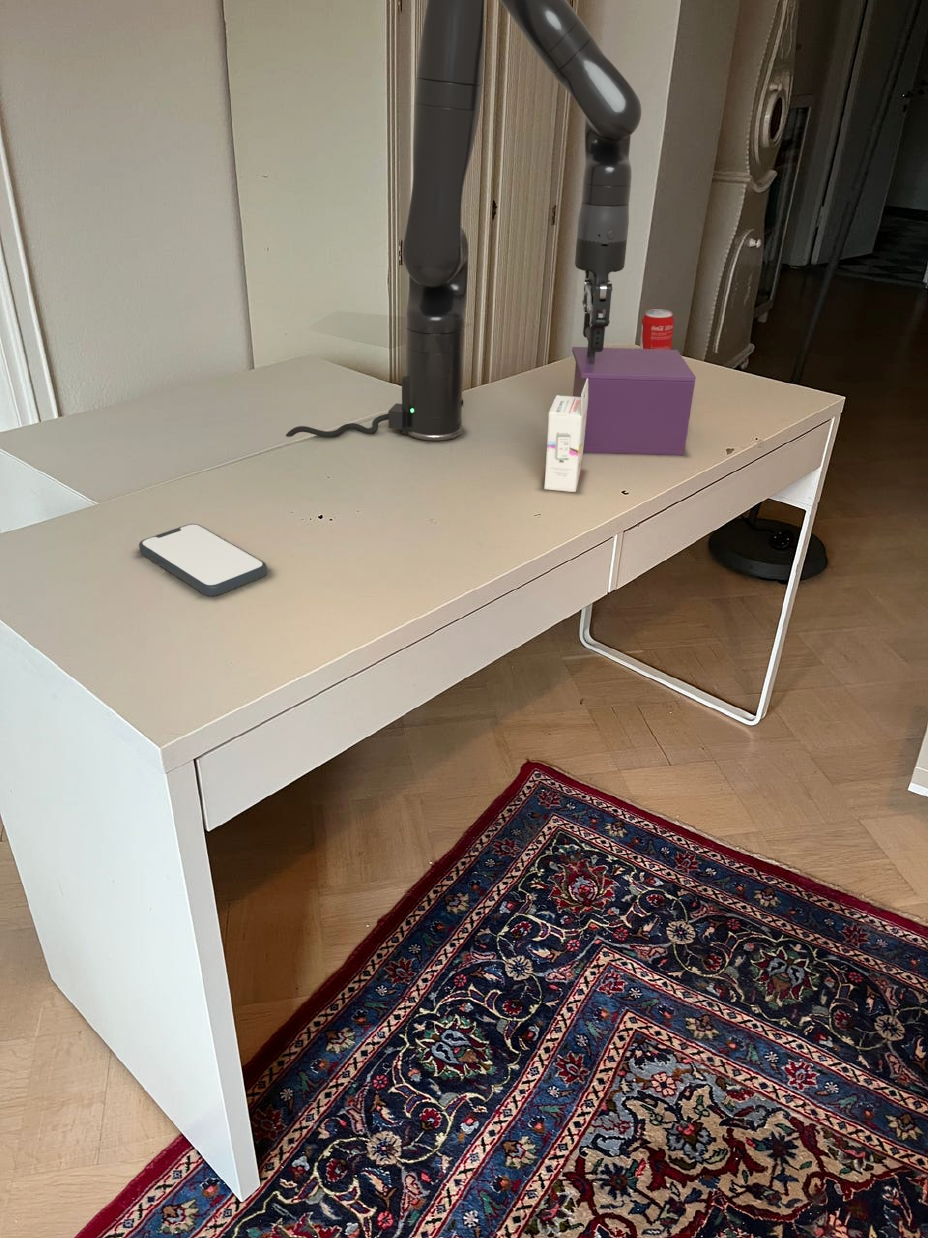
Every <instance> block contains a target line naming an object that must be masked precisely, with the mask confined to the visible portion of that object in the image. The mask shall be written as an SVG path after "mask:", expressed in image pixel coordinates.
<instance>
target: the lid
mask: <svg viewBox="0 0 928 1238" xmlns="http://www.w3.org/2000/svg"><path fill="white" fill-rule="evenodd" d="M585 335H586V337H585V338H586V340H587V346H572V348H571V352H572V356H573V358H574V360H575V365H576V364H577V367H578V370H579V373H580V376H581V378H585V379H587V378H588V379H620V380H654V381H688V382H695V383H696V379H697V377H696V375H695V374H694V373H693V371H692V368H690V366H689V365H688V363H687V362H686V361H685V358H683V356H682V355H681V353H680V352H679V350H678V349H671V350H664V349H640V348H629V347H626V348H625V347H603V351H602V352H590V351H589V348H588V347H589V336H590V326H588V327H587V328H586V330H585Z"/></svg>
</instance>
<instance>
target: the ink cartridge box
mask: <svg viewBox="0 0 928 1238" xmlns="http://www.w3.org/2000/svg"><path fill="white" fill-rule="evenodd" d="M584 396H585V398H584ZM587 406H588V378H587V379H586V382H585V385H584V388H583V390H582V393H581V397H573V395H571V396H570V395H562V394H561V395H559V394H556V395H555V397H554V399H553V401H552V404H551V406H550V409H549V411H548V424H547V425H548V426H547V440H546V456H545V459H546V461H545V472H544V473H545V475H544V486H543V489H544V490H549V491H559V492H568V493H569V492H570V493H576V492H577V489H578V485H579V481H580V477H581V472H582V466H583V456H584V452H583V447H584V437H585V427H586V416H587Z"/></svg>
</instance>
